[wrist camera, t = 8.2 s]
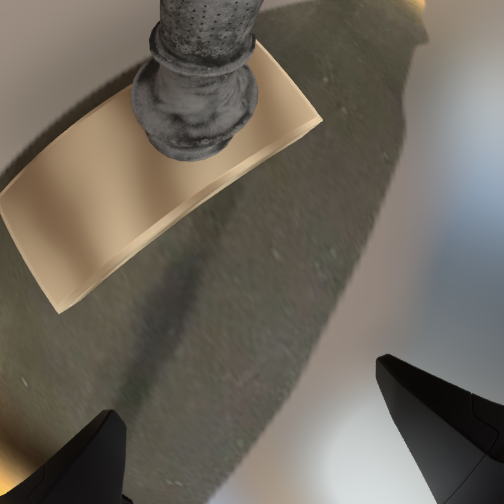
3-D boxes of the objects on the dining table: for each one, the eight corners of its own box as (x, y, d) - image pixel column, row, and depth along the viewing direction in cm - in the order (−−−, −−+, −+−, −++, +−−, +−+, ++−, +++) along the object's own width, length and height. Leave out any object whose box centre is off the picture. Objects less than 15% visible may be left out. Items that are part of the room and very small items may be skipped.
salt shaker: (246, 164, 15) (383, 30, 4) (139, 171, 14) (57, 16, 2) (238, 76, 15) (319, -81, 3) (141, 79, 14) (122, -93, 2)
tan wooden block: (80, 300, 17) (57, 315, 13) (22, 206, 16) (-8, 199, 12) (299, 138, 21) (324, 119, 17) (235, 59, 19) (247, 27, 15)
